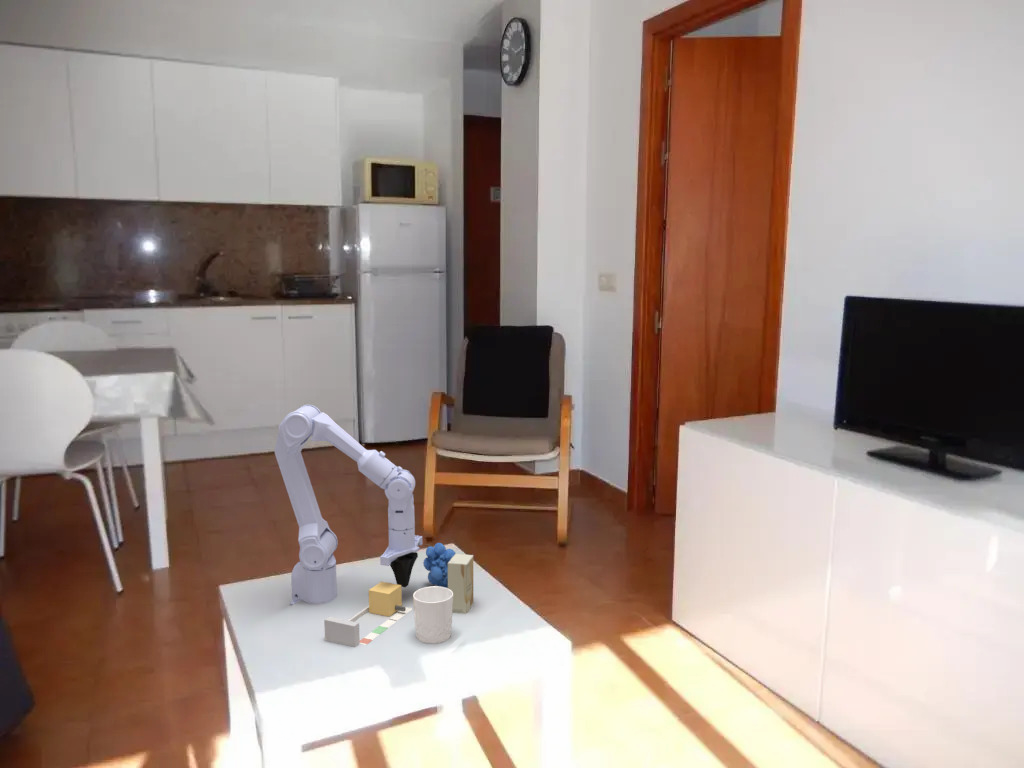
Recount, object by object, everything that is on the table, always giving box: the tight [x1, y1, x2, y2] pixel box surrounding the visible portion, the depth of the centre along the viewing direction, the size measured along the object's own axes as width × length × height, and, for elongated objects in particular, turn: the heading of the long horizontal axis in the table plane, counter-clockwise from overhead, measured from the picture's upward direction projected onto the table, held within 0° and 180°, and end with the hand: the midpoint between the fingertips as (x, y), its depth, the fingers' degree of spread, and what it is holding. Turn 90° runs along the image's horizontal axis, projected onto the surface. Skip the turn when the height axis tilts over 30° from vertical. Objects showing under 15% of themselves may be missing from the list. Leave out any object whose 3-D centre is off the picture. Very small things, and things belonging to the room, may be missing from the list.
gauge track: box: [323, 605, 414, 648], centre depth 158 cm, size 11×22×6 cm, turn 157°
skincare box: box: [448, 553, 475, 615], centre depth 164 cm, size 6×4×12 cm
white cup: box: [412, 585, 453, 644], centre depth 151 cm, size 8×8×10 cm
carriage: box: [368, 581, 406, 618], centre depth 162 cm, size 7×5×5 cm
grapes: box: [423, 542, 457, 588], centre depth 173 cm, size 12×7×12 cm, turn 56°
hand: (402, 585), depth 169 cm, fingers closed
